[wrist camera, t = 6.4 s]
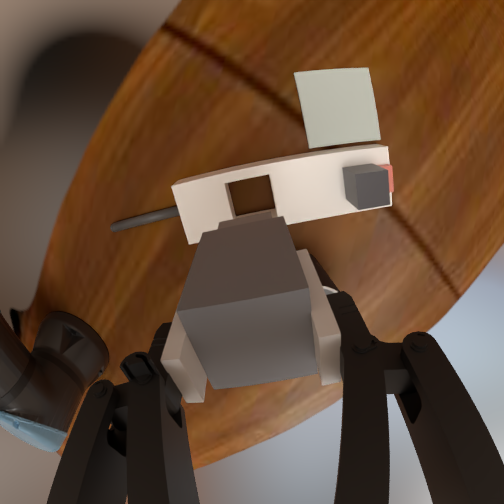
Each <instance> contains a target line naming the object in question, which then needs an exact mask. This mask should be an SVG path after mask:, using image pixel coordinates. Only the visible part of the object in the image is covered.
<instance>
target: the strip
mask: <svg viewBox="0 0 504 504" xmlns="http://www.w3.org/2000/svg"><path fill="white" fill-rule="evenodd" d="M268 174H269V178H270V183H271V188H272V193H273V198H274V204H275V208H274V209H269V210H264V211H259V212H254V213H249V214H244V215H239V216H236V215H235V211H234V207H233V202H232V198H231V194H230V190H229V186H228V183H229V182H234V181H238V180H243V179H248V178H253V177H257V176H262V175H268ZM171 187H172V190H173V194H174V197H175V200H176V204H177V206H175V207H171V208H167V209H163V210H159V211H155V212H151V213H148V214H144V215H140V216H137V217H133V218H129V219H126V220H122V221H119V222H115V223H113V224H112V225H111V227H110V228H111V231H113V232H118V231H121V230H125V229H129V228H132V227H136V226H140V225H144V224H148V223H152V222H156V221H160V220H164V219H168V218H172V217H176V216H180V217H181V220H182V224H183V227H184V230H185V233H186V236H187V240H188V243H189V244H194V243H199V241H200V239H201V236H202V233H203V232H207V231H212V230H216V229H218V225H219V222H222V221H226V220H231V219H236V218H241V217H245V216H250V215H255V214H260V213H265V212H270V211H271V215H272V218H275V217H280V216H283V217H284V219H285V222H286V225H289V224H294V223H299V222H304V221H310V220H315V219H320V218H326V217H331V216H337V215H342V214H348V213H353V212H359V211H364V210H370V209H376V208H382V207H387V206H392V192H394V188H393V173H392V165H390V164H389V153H388V146H384V145H379V144H369V145H360V146H351V147H343V148H336V149H329V150H322V151H315V152H308V153H302V154H296V155H290V156H285V157H279V158H274V159H268V160H263V161H258V162H253V163H248V164H244V165H239V166H234V167H230V168H225V169H221V170H217V171H212V172H208V173H204V174H200V175H196V176H192V177H188V178H184V179H181V180H178V181H177V182H176V183H174V184H173V185H172V186H171Z"/></svg>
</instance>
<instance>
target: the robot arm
mask: <svg viewBox="0 0 504 504" xmlns="http://www.w3.org/2000/svg"><path fill="white" fill-rule="evenodd" d="M296 252H297V255H298V258H299V260H300V263H301V266H302V269H303V272H304V275H305V277H306V280H307V283H308V286H309V292H310V300H311V309H312V311H311V317H312V327H313V336H314V346H315V357H316V362H317V366H318V370H319V375H320V379H321V383H322V386H323V385H328V384H332V383H337V382H341V377H342V380H343V409H342V429H341V443H340V455H339V466H338V475H337V484H336V492H335V499H334V504H388V503H389V476H390V451H389V425H388V424H389V423H388V408H387V395H386V394H394V395H395V398H396V400H397V403H398V405H399V407H400V410H401V413H402V415H403V418H404V420H405V423H406V426H407V428H408V431H409V433H410V436H411V439H412V442H413V444H414V447H415V450H416V453H417V455H418V458H419V461H420V464H421V467H422V470H423V473H424V476H425V479H426V482H427V485H428V489H429V492H430V495H431V498H432V502H433V504H504V464H503V461H502V459H501V457H500V454H499V452H498V450H497V448H496V446H495V444H494V441H493V439H492V437H491V435H490V433H489V431H488V429H487V427H486V425H485V423H484V422H483V419H482V417H481V415H480V413H479V412H478V410H477V408H476V406H475V404H474V403H473V401H472V399H471V397H470V395H469V394H468V392H467V390H466V389H465V386H464V385H463V383H462V382H461V380H460V378H459V376H458V375H457V373H456V371H455V370H454V368H453V367H452V365H451V363H450V362H449V360H448V359H447V357H446V355H445V354H444V352H443V351H442V349H441V348H440V346H439V345H438V343H437V342H436V340H435V339H434V338H433V337H432V336H431V335H430V334H428V333H426V332H419V331H418V332H412V333H410V334H408V335H407V336H406V337H405V338H404V339H403V343H385V342H381V341H379V340H378V339H377V338H376V337H375V336H373V335H371V334H370V332H369V330H368V328H367V326H366V324H365V322H364V320H363V318H362V316H361V314H360V312H359V311H358V308H357V306H356V305H355V303H354V301H353V299H352V297H351V296H350V295H349V294H347V293H346V292H344V291H341V292H337V293H332V294H327V295H326V294H325V292H324V289H323V287H322V284H321V282H320V279H319V277H318V275H317V272H316V270H315V267H314V265H313V263H312V260H311V258H310V256H309V253H308V251H307V249H303V250H298V251H296ZM177 308H178V307H177ZM176 311H177V310H176ZM0 312H1V311H0ZM108 362H109V354H108V350H107V348H106V346H105V344H104V342H103V341H102V339H101V338H100V337H99V335H98V334H97V333H96V332H95V331H94V330H93V329H92V328H91V327H90V326H88V325H87V324H86V323H85V322H83V321H82V320H80V319H78V318H77V317H75V316H73V315H70V314H68V313H64V312H51V313H49V314H48V315H47V316H46V317H45V318H44V319H43V321H42V322H41V323H40V325H39V328H38V332H37V336H36V339H35V343H34V347H33V350H32V352H31V353H30V352H29V351H28V350H27V349H26V347H25V346H24V345H23V343H22V342H21V341H20V340H19V338H18V337H17V336H16V334H15V333H14V331H13V330H12V329H11V327H10V326H9V324H8V323H7V322H6V320H5V319H4V318H3V316H2V314H1V313H0V425H1V426H2V427H3V428H5V429H6V430H7V431H8V432H10V433H11V434H13V435H14V436H16V437H17V438H19V439H21V440H22V441H24V442H26V443H28V444H30V445H32V446H34V447H36V448H39V449H41V450H44V451H48V452H55V451H58V450H59V449H60V447H61V445H62V443H63V441H64V439H65V437H66V436H67V432H68V429H69V427H70V424H71V422H72V419H73V417H74V415H75V412H76V410H77V408H78V405H79V403H80V401H81V398H82V396H83V394H84V392H85V390H86V389H87V388H88V387H89V386H90V385H91V384H92V383H93V382H94V381H96V380H97V379H98V378H99V377H100V376H101V375H102V374H103V373H104V371H105V369H106V367H107V365H108ZM120 368H121V370H122V371H123V373H124V374H125V375H126V377H127V378H128V380H129V382H127V383H124V384H120V385H117V386H114V385H113V383H112V382H110V381H109V380H105V379H104V380H99V381H97V382H95V383H94V384H93V385H92V386H91V387H90V388H89V390H88V392H87V394H86V397H85V399H84V401H83V404H82V406H81V408H80V411H79V413H78V415H77V418H76V420H75V423H74V425H73V428H72V430H71V433H70V435H69V438H68V441H67V443H66V446H65V449H64V451H63V454H62V457H61V460H60V463H59V466H58V469H57V472H56V475H55V478H54V481H53V484H52V487H51V490H50V494H49V497H48V501H47V504H125V502H126V497H127V495H128V504H200V503H199V498H198V492H197V487H196V482H195V477H194V471H193V466H192V460H191V454H190V448H189V441H188V434H187V427H186V420H185V412H184V409H183V407H182V405H181V404H180V403H181V398H182V396H183V398H184V399H185V401H186V402H187V403H197V402H204V397H205V389H206V381H207V375H206V373H205V371H204V369H203V367H202V365H201V363H200V361H199V359H198V357H197V355H196V353H195V351H194V349H193V347H192V344H191V342H190V340H189V338H188V336H187V334H186V332H185V330H184V327H183V325H182V323H181V321H180V318H179V316H178V314H177V312H176V313H175V316H174V319H173V322H169V323H163V324H162V325H161V326H160V327H159V328H158V330H157V331H156V333H155V336H154V340H153V341H152V344H151V347H150V350H149V352H148V354H147V353H145V352H135V353H132V354H130V355H129V356H127V357H126V358H125V359H124V360H123V361H122V362H121V365H120ZM110 423H111V424H112V426H111V428H110V429H109V426H110Z"/></svg>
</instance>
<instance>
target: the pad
mask: <svg viewBox="0 0 504 504" xmlns="http://www.w3.org/2000/svg"><path fill="white" fill-rule="evenodd" d="M294 77H295V82H296V86H297V91H298V95H299V100H300V105H301V110H302V115H303V120H304V125H305V130H306V135H307V141H308V147H309V148H316V147H323V146H330V145H337V144H345V143H353V142H362V141H372V140H381V139H380V131H379V124H378V117H377V111H376V105H375V99H374V94H373V89H372V83H371V79H370V74H369V69H368V68H344V69H328V70H315V71H305V72H297V73H294Z"/></svg>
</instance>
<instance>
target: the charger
mask: <svg viewBox="0 0 504 504" xmlns="http://www.w3.org/2000/svg"><path fill="white" fill-rule="evenodd" d="M311 311H312V309H311V300H310V292H309V286H308V283H307V280H306V277H305V275H304V272H303V269H302V266H301V263H300V260H299V258H298V255H297V252H296V249H295V246H294V244H293V241H292V238H291V235H290V233H289V230H288V227H287V225H286V222H285V219H284V217H283V216H280V217H275V218H272V215H271V211H270V212H265V213H260V214H255V215H250V216H245V217H241V218H236V219H231V220H226V221H222V222H219V225H218V229H216V230H212V231H207V232H203V233H202V236H201V239H200V241H199V244H198V247H197V250H196V253H195V256H194V259H193V262H192V265H191V268H190V271H189V274H188V277H187V280H186V283H185V286H184V289H183V292H182V295H181V298H180V301H179V304H178V308H177V311H176V312H177V314H178V316H179V318H180V321H181V323H182V325H183V327H184V330H185V332H186V334H187V336H188V338H189V340H190V342H191V344H192V347H193V349H194V351H195V353H196V355H197V357H198V359H199V361H200V363H201V365H202V367H203V369H204V371H205V373H206V375H207V377H208V379H209V381H210V383H211V385H212V386H213V388H214V389H223V388H232V387H241V386H249V385H256V384H263V383H269V382H276V381H282V380H287V379H293V378H298V377H303V376H308V375H313V374H318V371H317V362H316V357H315V346H314V336H313V327H312V317H311Z"/></svg>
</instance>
